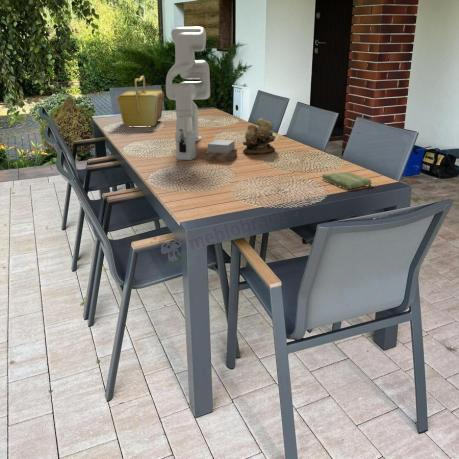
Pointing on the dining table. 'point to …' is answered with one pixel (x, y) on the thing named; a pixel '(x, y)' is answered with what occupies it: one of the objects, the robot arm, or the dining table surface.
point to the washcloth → (346, 180)
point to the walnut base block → (221, 156)
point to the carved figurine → (259, 138)
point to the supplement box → (187, 147)
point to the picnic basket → (140, 106)
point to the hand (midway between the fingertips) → (186, 150)
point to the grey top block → (221, 146)
